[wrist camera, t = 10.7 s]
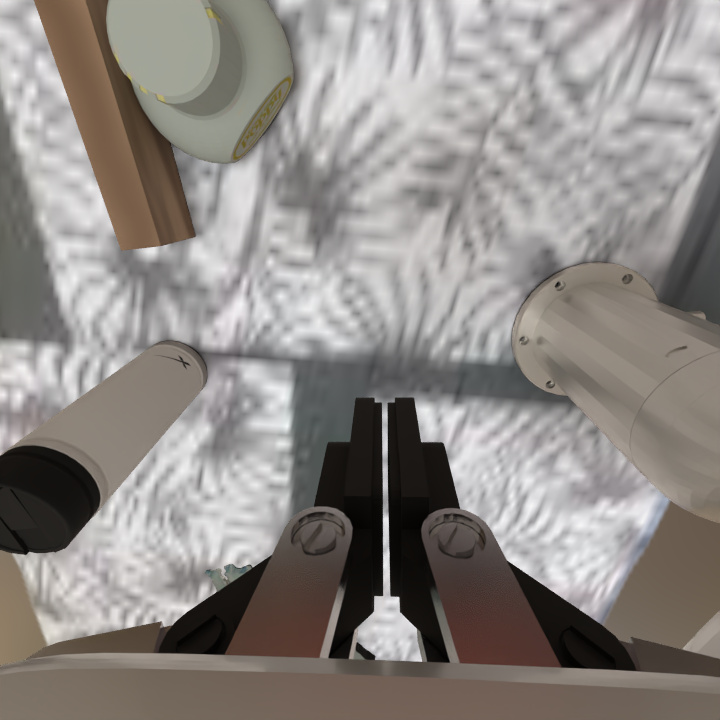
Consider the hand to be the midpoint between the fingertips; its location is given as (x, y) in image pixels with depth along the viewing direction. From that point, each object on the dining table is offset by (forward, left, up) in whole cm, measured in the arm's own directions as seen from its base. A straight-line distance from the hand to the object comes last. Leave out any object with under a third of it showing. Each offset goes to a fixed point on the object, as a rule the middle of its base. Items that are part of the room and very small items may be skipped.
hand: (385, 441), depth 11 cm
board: (+17, -16, -25) cm, 34 cm away
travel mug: (+21, +7, -25) cm, 33 cm away
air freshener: (+10, -15, -25) cm, 31 cm away
